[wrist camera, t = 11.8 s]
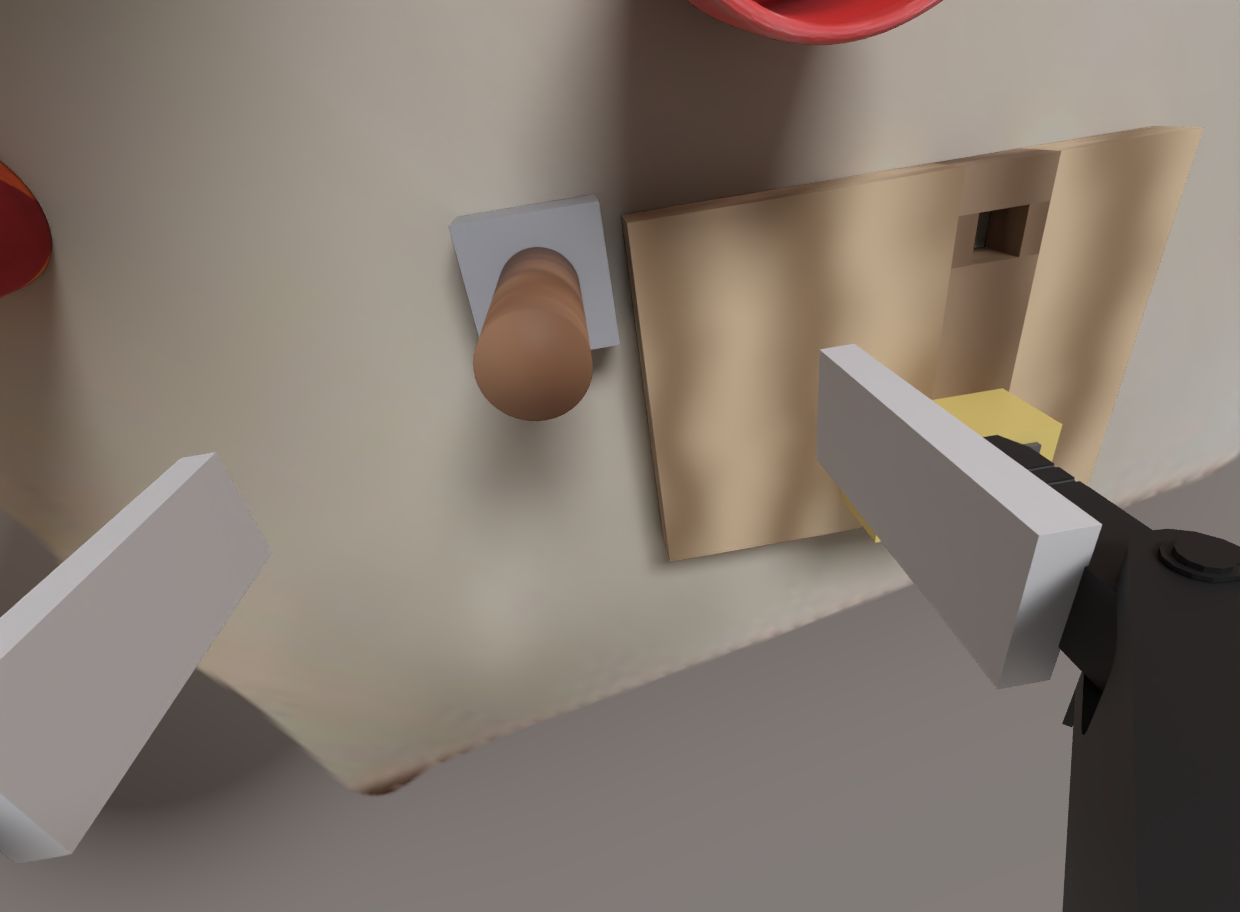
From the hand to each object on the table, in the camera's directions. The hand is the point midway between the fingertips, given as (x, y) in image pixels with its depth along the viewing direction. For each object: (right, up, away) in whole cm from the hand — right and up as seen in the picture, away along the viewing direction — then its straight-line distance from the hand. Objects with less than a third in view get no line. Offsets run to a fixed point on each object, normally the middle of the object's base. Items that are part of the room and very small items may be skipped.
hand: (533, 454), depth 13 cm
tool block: (-2, +8, +14) cm, 16 cm away
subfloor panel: (+15, +5, +17) cm, 24 cm away
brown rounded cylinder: (-2, +8, +13) cm, 16 cm away
